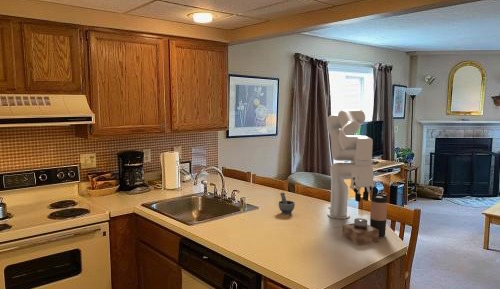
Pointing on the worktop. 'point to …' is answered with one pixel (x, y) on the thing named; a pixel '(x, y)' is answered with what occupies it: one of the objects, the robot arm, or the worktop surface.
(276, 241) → the worktop surface
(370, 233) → the block
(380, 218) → the travel mug
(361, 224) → the peg
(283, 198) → the mortar and pestle
